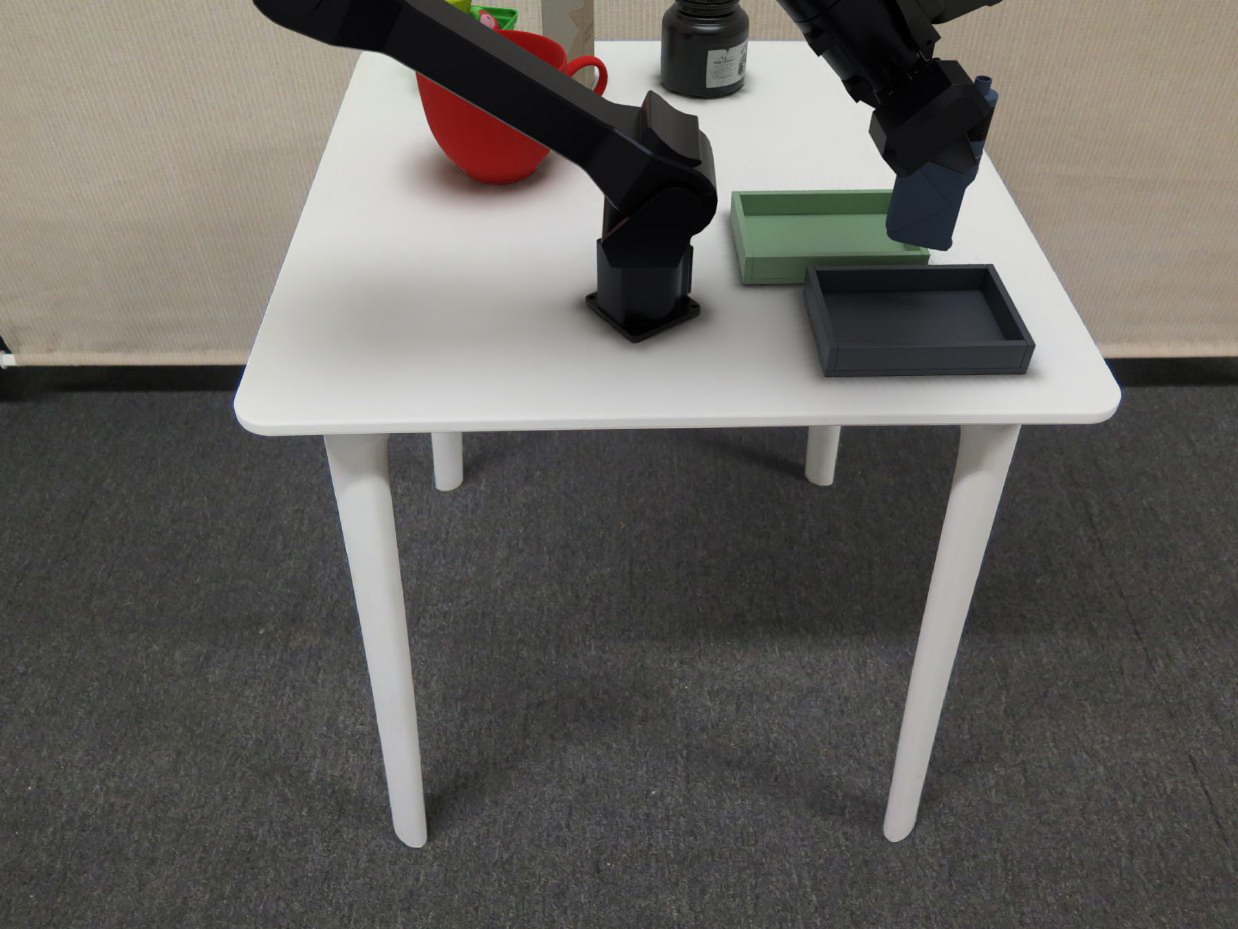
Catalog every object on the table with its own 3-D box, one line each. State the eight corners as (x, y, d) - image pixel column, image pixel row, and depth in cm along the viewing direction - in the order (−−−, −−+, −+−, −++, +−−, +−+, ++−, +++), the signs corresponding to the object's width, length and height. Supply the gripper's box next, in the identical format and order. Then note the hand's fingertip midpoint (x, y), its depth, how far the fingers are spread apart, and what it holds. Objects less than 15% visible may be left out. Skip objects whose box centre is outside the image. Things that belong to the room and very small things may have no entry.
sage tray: (743, 284, 79) (745, 256, 77) (729, 217, 86) (731, 190, 85) (923, 282, 79) (930, 254, 78) (895, 215, 87) (900, 188, 85)
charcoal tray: (824, 376, 71) (829, 348, 69) (802, 293, 78) (806, 265, 76) (1026, 373, 71) (1036, 344, 69) (984, 291, 78) (993, 263, 77)
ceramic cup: (631, 180, 91) (632, 69, 84) (447, 213, 87) (432, 99, 80) (585, 119, 100) (583, 15, 93) (416, 147, 96) (400, 40, 89)
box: (585, 99, 103) (582, -15, 96) (544, 96, 104) (538, -18, 96) (596, 78, 107) (594, -33, 99) (556, 75, 108) (551, -36, 100)
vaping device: (953, 255, 72) (1001, 89, 64) (879, 239, 73) (917, 74, 65) (958, 238, 74) (1006, 74, 65) (886, 222, 75) (924, 60, 67)
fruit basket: (490, 100, 103) (479, -16, 95) (409, 92, 105) (391, -24, 97) (524, 57, 111) (516, -54, 103) (447, 49, 113) (434, -60, 105)
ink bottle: (729, 106, 102) (739, -19, 94) (646, 93, 104) (649, -31, 96) (755, 69, 109) (766, -51, 100) (677, 57, 111) (681, -61, 103)
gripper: (1002, -71, 50) (1133, 138, 59) (901, -164, 64) (1020, 17, 72) (819, 85, 55) (964, 257, 63) (762, -31, 69) (888, 123, 77)
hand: (961, 154), depth 69 cm, fingers closed on vaping device, 3 cm apart
